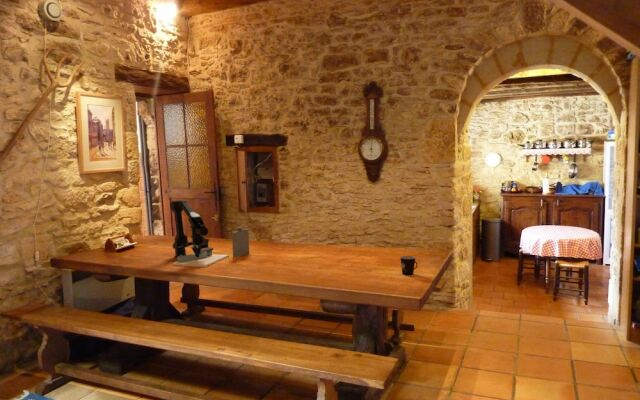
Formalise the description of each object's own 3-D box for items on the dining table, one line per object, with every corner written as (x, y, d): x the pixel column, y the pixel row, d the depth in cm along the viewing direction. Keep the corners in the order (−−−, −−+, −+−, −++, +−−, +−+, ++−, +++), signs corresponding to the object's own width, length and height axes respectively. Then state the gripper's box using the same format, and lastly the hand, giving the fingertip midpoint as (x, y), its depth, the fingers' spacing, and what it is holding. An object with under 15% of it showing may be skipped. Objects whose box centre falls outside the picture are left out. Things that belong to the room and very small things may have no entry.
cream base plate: (172, 265, 318) (172, 263, 318) (198, 255, 347) (198, 253, 347) (205, 267, 311) (205, 265, 310) (228, 256, 340) (228, 255, 340)
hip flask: (235, 257, 336) (234, 229, 334) (231, 257, 338) (230, 228, 336) (250, 253, 350) (249, 225, 348) (245, 252, 352) (244, 225, 350)
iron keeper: (200, 258, 331) (200, 251, 331) (194, 257, 335) (194, 250, 334) (213, 255, 340) (213, 248, 340) (207, 254, 344) (207, 247, 343)
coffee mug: (398, 272, 289) (398, 256, 288) (413, 272, 289) (413, 255, 288) (403, 277, 277) (403, 260, 276) (418, 277, 278) (418, 259, 277)
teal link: (180, 262, 319) (179, 256, 318) (176, 261, 322) (176, 255, 322) (207, 257, 333) (207, 251, 332) (204, 256, 336) (203, 250, 335)
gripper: (214, 233, 325) (216, 257, 326) (199, 231, 338) (200, 254, 339) (200, 236, 317) (201, 259, 318) (184, 234, 330) (186, 256, 331)
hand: (197, 257), depth 327 cm, fingers closed
